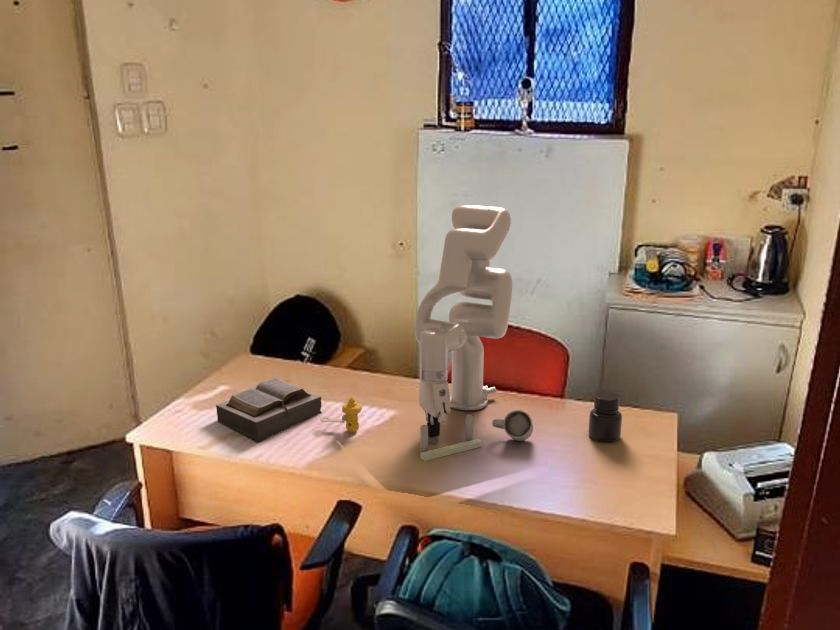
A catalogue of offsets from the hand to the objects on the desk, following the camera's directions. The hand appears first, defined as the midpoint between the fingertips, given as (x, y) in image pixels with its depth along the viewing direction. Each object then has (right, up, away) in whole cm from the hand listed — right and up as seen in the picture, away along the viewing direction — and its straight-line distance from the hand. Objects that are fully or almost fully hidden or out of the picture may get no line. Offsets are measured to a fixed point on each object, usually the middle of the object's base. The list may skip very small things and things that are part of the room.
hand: (433, 435), depth 218 cm
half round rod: (0, 0, +6) cm, 6 cm away
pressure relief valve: (-26, 0, +5) cm, 27 cm away
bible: (-48, +2, +13) cm, 49 cm away
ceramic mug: (+22, -2, -2) cm, 22 cm away
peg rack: (+4, -3, -7) cm, 8 cm away
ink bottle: (+48, -1, +2) cm, 48 cm away
